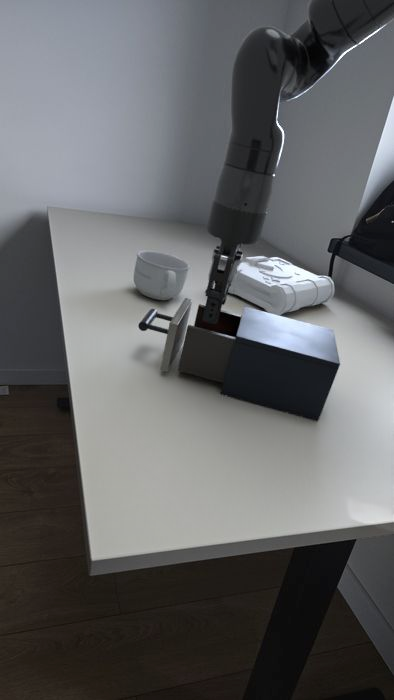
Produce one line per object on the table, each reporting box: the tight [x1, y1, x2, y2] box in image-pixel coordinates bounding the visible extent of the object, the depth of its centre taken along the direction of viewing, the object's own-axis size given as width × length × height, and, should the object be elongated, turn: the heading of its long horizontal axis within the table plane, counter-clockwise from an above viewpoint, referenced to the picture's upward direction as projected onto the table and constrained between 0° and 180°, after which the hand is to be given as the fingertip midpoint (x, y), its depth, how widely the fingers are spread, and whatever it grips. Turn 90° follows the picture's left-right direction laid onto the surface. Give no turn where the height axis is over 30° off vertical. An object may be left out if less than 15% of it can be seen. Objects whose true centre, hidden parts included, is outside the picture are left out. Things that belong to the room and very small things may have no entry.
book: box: [228, 255, 336, 316], centre depth 118 cm, size 19×28×8 cm
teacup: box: [133, 250, 191, 301], centre depth 100 cm, size 14×11×8 cm
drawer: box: [137, 297, 242, 384], centre depth 76 cm, size 18×11×8 cm, turn 80°
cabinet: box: [220, 306, 341, 422], centre depth 75 cm, size 15×13×10 cm
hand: (213, 312), depth 74 cm, fingers open, 8 cm apart
